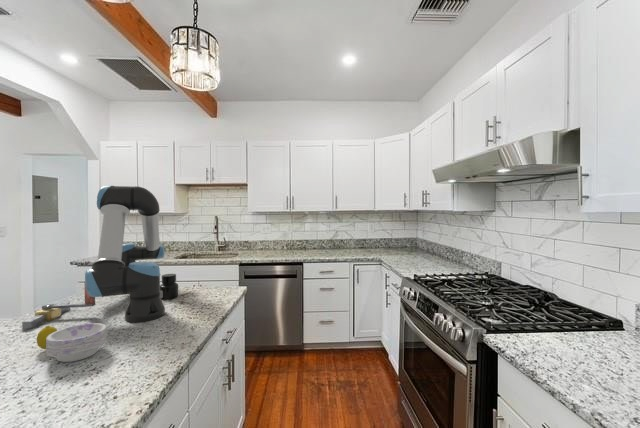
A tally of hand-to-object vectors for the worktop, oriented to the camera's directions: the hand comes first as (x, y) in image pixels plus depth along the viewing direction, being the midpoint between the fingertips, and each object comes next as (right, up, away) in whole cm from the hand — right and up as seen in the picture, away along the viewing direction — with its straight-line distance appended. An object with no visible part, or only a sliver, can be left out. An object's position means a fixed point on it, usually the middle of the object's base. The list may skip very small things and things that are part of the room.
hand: (95, 286), depth 137 cm
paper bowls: (+24, -13, -40) cm, 48 cm away
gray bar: (-15, -12, -8) cm, 20 cm away
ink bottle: (+22, -11, +22) cm, 33 cm away
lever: (-7, -7, -6) cm, 12 cm away
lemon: (+11, -12, -36) cm, 40 cm away
